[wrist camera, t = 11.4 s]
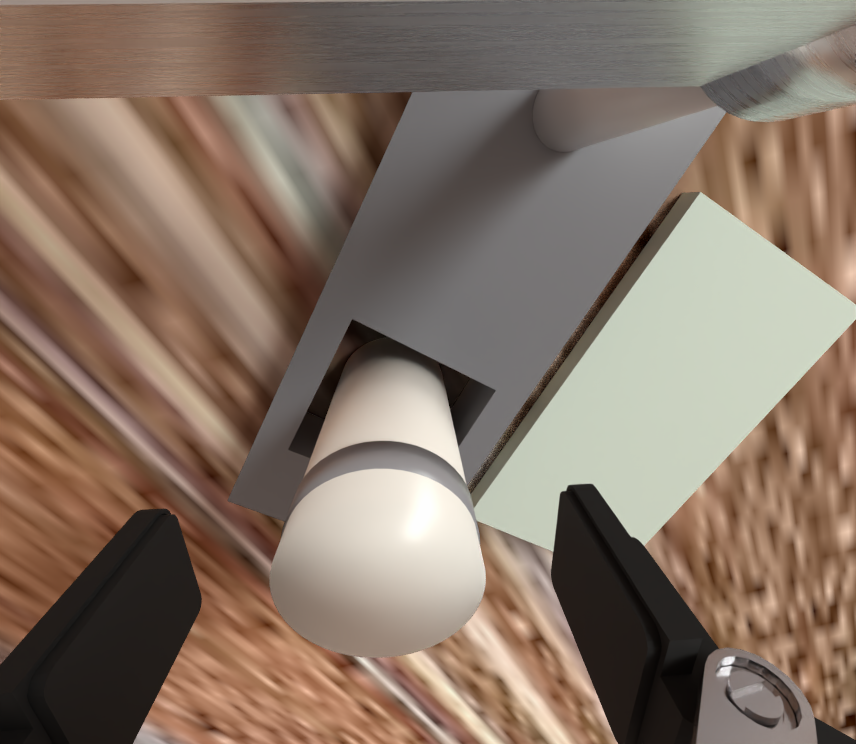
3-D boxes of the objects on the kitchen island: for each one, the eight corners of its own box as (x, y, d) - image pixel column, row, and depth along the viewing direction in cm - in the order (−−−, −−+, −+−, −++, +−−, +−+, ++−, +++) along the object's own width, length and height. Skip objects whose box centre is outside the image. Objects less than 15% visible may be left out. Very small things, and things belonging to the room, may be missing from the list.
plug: (367, 317, 16) (320, 463, 7) (463, 365, 17) (530, 548, 8) (322, 406, 18) (235, 624, 9) (414, 446, 19) (423, 679, 10)
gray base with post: (483, -45, 12) (727, -802, 3) (679, 107, 14) (1206, -77, 5) (253, 456, 19) (102, 711, 9) (409, 517, 20) (414, 782, 11)
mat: (682, 192, 15) (700, 191, 14) (839, 304, 17) (863, 310, 16) (464, 502, 20) (467, 516, 19) (606, 561, 22) (615, 576, 21)
